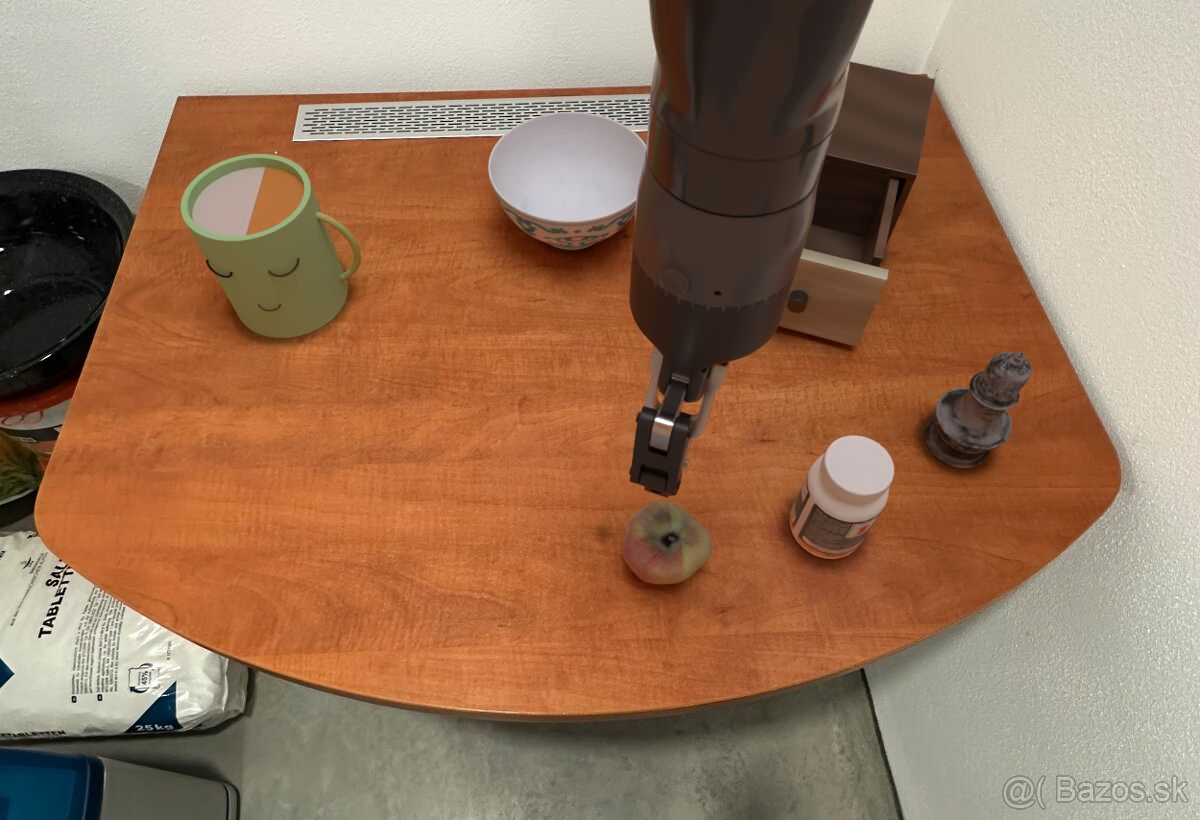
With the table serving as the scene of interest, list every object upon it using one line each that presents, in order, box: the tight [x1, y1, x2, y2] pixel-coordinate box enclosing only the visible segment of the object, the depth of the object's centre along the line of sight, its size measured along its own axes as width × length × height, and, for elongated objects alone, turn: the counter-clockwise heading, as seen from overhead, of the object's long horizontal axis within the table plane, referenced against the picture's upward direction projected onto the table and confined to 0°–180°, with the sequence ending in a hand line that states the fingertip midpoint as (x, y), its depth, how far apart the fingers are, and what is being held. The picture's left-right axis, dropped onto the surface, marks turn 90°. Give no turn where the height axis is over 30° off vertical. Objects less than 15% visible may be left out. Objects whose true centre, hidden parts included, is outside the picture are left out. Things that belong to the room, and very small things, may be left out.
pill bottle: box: [789, 434, 895, 560], centre depth 58 cm, size 6×6×10 cm
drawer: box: [778, 161, 900, 348], centre depth 71 cm, size 15×12×9 cm
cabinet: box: [825, 61, 936, 249], centre depth 78 cm, size 14×13×10 cm
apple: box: [603, 500, 713, 585], centre depth 58 cm, size 6×8×6 cm
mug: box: [180, 153, 362, 339], centre depth 69 cm, size 13×10×12 cm
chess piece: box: [923, 351, 1033, 469], centre depth 61 cm, size 6×6×12 cm
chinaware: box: [487, 111, 646, 251], centre depth 76 cm, size 15×15×8 cm
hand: (680, 429), depth 49 cm, fingers open, 8 cm apart
